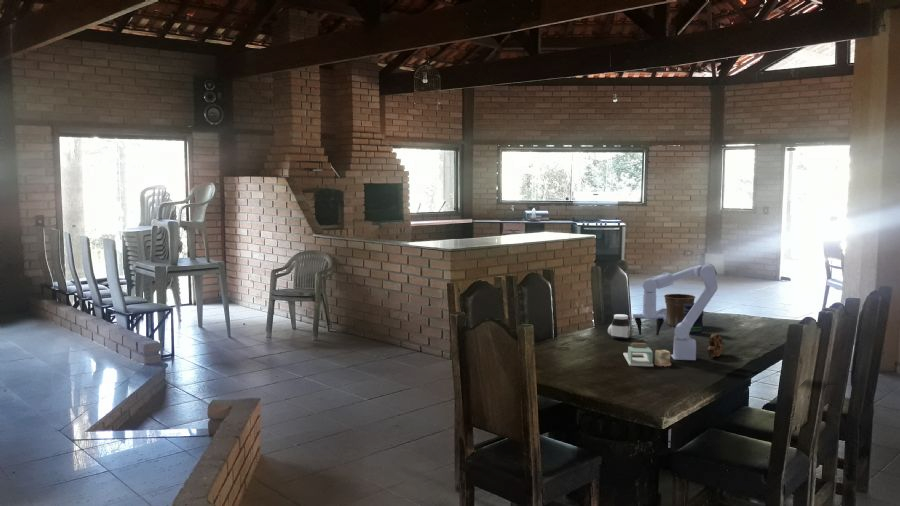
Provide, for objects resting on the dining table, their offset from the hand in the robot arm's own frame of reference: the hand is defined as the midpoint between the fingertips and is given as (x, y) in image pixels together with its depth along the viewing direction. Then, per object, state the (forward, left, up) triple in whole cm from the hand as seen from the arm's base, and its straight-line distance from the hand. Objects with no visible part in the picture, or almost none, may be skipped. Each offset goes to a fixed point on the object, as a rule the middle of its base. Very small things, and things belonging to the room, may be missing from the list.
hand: (648, 334), depth 330 cm
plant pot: (-28, -71, -10) cm, 77 cm away
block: (-3, +16, -9) cm, 19 cm away
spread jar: (+9, -36, -10) cm, 38 cm away
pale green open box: (+6, +15, -8) cm, 18 cm away
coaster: (-3, +17, -9) cm, 19 cm away
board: (+6, +10, -9) cm, 15 cm away
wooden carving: (-30, -1, -10) cm, 32 cm away
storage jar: (-31, -51, -10) cm, 60 cm away
